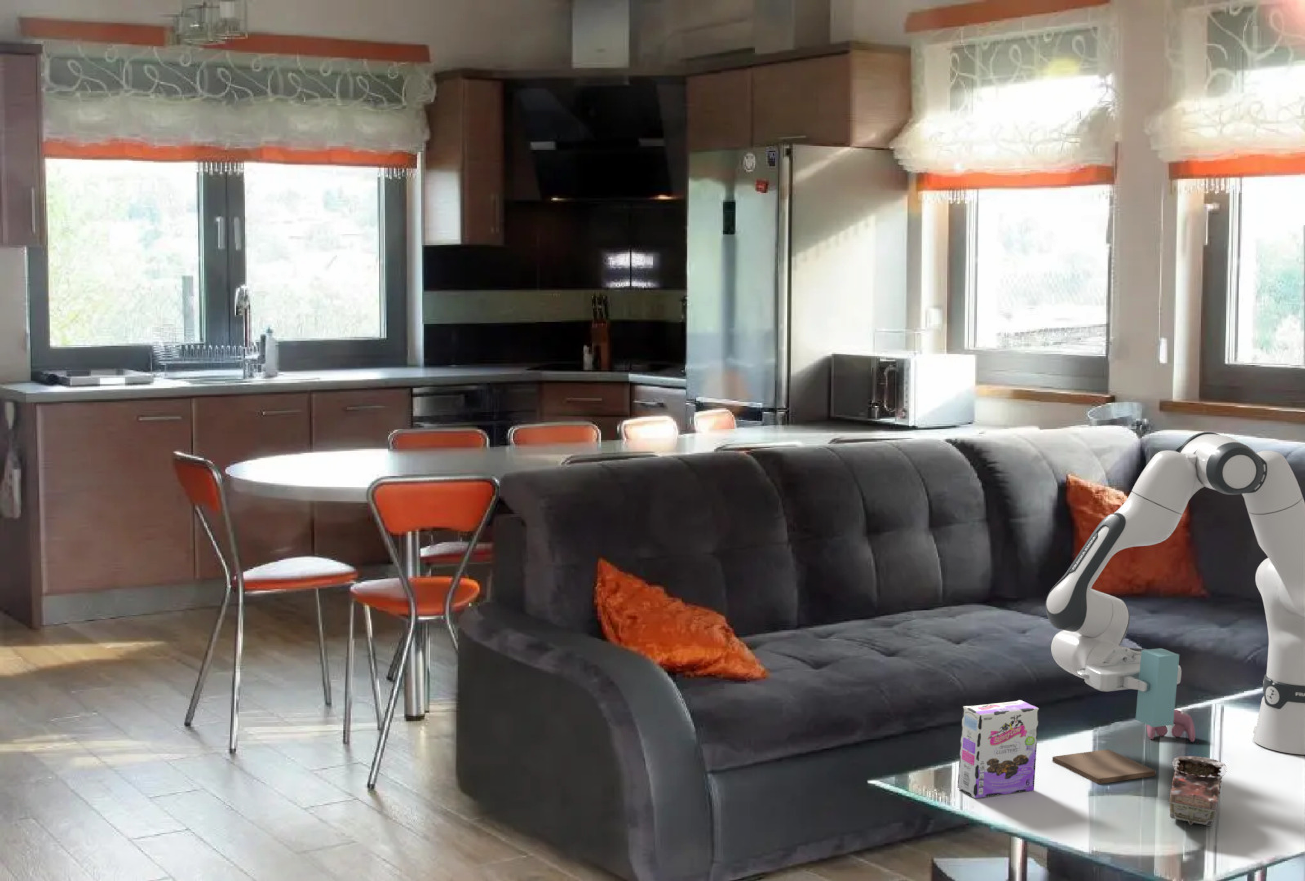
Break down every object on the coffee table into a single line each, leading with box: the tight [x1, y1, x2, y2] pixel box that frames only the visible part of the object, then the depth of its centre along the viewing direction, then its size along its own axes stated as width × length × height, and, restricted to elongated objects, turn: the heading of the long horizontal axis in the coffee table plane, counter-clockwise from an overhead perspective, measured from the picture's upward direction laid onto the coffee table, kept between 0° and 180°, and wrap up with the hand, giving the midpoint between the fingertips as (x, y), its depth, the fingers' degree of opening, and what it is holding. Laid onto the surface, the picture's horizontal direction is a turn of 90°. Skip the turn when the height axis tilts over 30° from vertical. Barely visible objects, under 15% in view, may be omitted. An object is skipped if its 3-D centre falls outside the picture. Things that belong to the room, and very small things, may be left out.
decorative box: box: [1168, 755, 1236, 827], centre depth 304 cm, size 13×20×10 cm, turn 153°
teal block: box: [1135, 647, 1180, 727], centre depth 326 cm, size 5×5×14 cm
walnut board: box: [1051, 748, 1156, 785], centre depth 332 cm, size 14×14×1 cm
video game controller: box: [1145, 709, 1196, 743], centre depth 354 cm, size 10×5×7 cm, turn 84°
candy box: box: [957, 699, 1040, 799], centre depth 317 cm, size 14×6×16 cm, turn 114°
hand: (1160, 686), depth 325 cm, fingers closed on teal block, 5 cm apart
